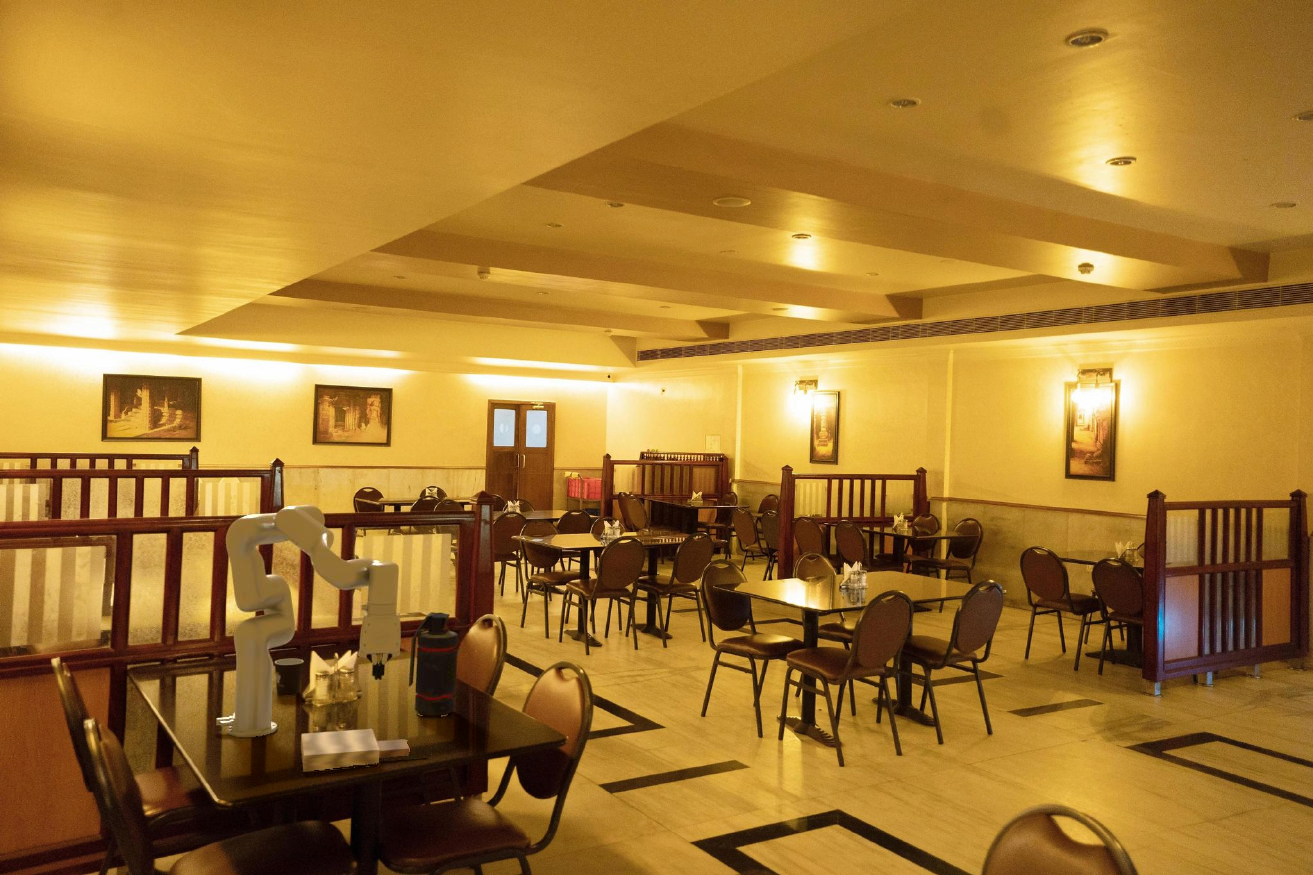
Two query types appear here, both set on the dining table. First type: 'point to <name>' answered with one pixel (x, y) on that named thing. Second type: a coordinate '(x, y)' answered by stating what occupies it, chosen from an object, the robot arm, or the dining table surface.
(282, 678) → the coffee mug
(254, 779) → the dining table surface
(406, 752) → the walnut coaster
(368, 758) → the block
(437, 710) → the grenade
